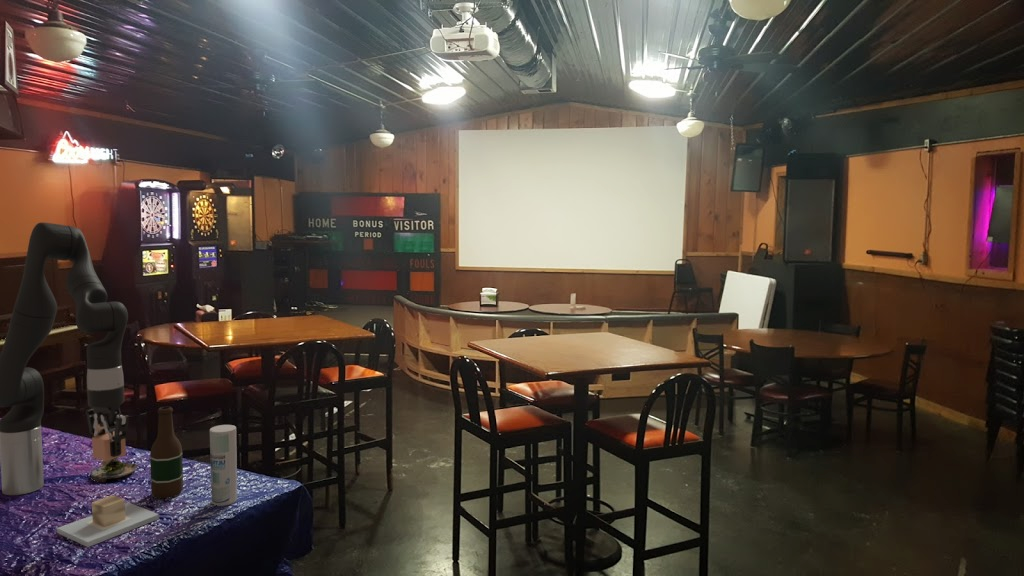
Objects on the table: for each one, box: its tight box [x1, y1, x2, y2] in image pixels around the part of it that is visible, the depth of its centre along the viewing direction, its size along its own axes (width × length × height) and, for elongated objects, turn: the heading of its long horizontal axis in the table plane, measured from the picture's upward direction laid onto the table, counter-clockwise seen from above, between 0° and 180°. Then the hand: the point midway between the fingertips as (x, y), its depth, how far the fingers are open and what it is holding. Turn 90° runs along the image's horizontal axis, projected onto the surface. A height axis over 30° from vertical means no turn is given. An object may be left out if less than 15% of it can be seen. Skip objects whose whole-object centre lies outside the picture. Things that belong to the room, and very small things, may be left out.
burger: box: [90, 458, 138, 483], centre depth 192 cm, size 12×12×8 cm
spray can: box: [209, 424, 238, 507], centre depth 175 cm, size 6×6×20 cm
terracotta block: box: [91, 431, 127, 462], centre depth 160 cm, size 5×5×5 cm
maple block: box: [91, 494, 126, 527], centre depth 161 cm, size 5×5×5 cm
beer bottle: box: [149, 406, 184, 500], centre depth 179 cm, size 8×8×24 cm
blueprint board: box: [56, 502, 160, 548], centre depth 161 cm, size 13×17×1 cm
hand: (109, 453), depth 160 cm, fingers closed on terracotta block, 5 cm apart
